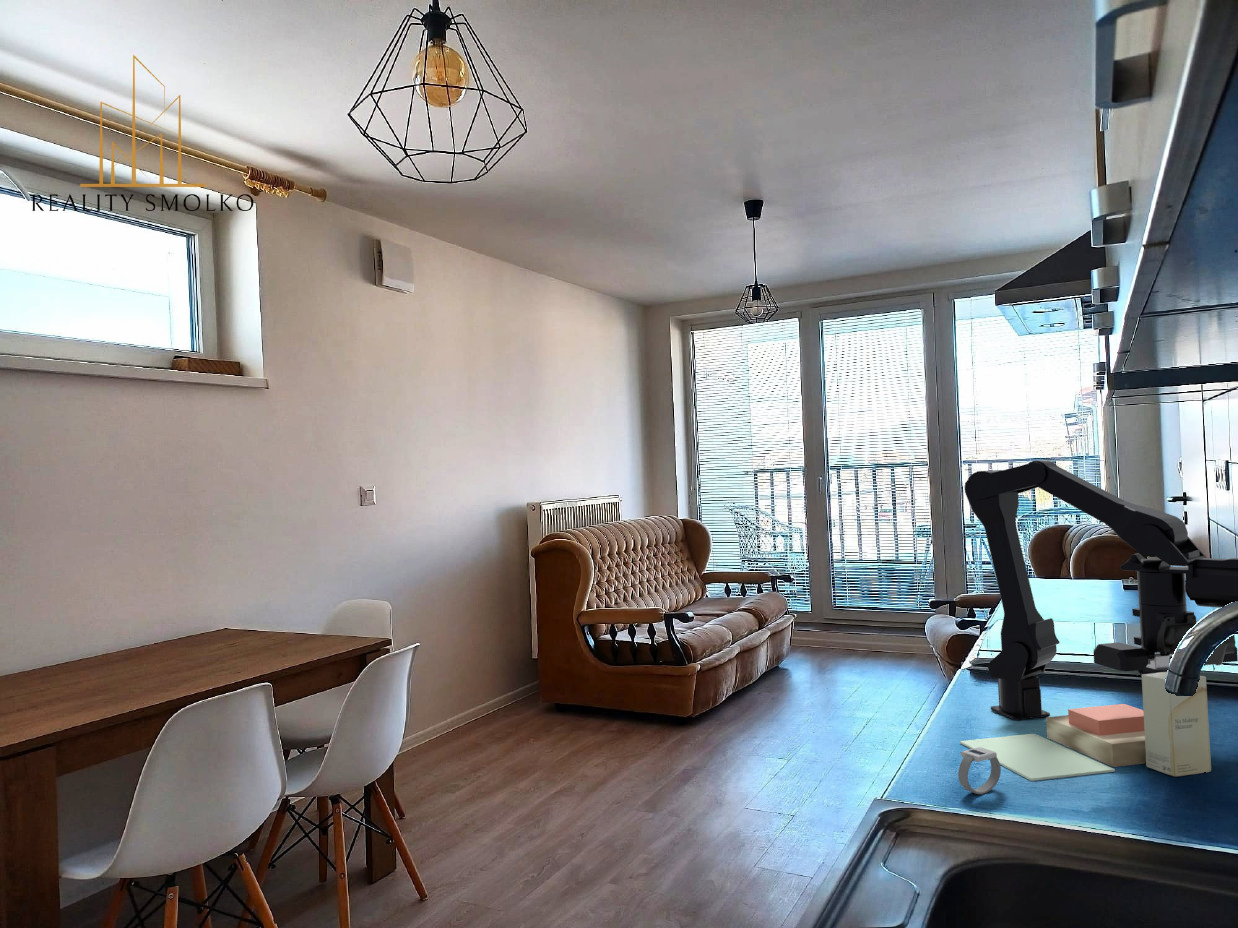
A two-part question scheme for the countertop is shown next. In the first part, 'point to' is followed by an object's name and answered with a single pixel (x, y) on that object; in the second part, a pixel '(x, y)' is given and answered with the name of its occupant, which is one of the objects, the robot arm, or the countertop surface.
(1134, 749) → the board
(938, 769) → the countertop surface
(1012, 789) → the countertop surface
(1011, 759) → the mat
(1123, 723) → the salmon pink brick
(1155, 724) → the skincare box
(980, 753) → the wristwatch
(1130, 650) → the robot arm
